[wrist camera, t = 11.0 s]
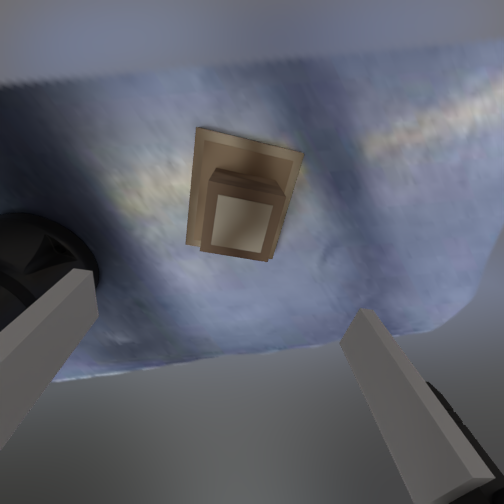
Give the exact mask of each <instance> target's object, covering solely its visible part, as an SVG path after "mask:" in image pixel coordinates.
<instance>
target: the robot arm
mask: <svg viewBox="0 0 504 504" xmlns="http://www.w3.org/2000/svg"><path fill="white" fill-rule="evenodd" d="M98 280H99V270H98V265H97V263H96V260H95V258H94V256H93V254H92V253H91V251H90V250H89V248H88V247H87V246H86V245H85V244H84V243H83V242H82V241H81V240H80V239H79V238H78V237H77V236H76V235H75V234H73V233H72V232H71V231H69V230H68V229H66V228H65V227H63V226H61V225H60V224H58V223H56V222H53V221H51V220H49V219H46V218H43V217H40V216H36V215H32V214H25V213H9V214H4V215H0V450H1V449H2V448H3V446H4V445H5V444H6V442H7V441H8V439H9V438H10V437H11V435H12V434H13V433H14V431H15V430H16V429H17V427H18V426H19V424H20V423H21V422H22V420H23V419H24V417H25V416H26V415H27V414H28V412H29V411H30V409H31V408H32V407H33V405H34V404H35V403H36V401H37V400H38V398H39V397H40V396H41V394H42V393H43V391H44V390H45V389H46V388H47V386H48V385H49V383H50V382H51V381H52V379H53V378H54V377H55V375H56V374H57V372H58V371H59V370H60V368H61V367H62V366H63V364H64V363H65V362H66V360H67V359H68V357H69V356H70V355H71V353H72V352H73V351H74V349H75V348H76V347H77V345H78V344H79V342H80V341H81V340H82V338H83V337H84V336H85V334H86V333H87V331H88V330H89V329H90V327H91V326H92V325H93V323H94V322H95V321H96V319H97V318H98V316H99V315H98V307H97V300H96V293H95V288H96V286H97V284H98ZM340 346H341V348H342V350H343V352H344V354H345V356H346V358H347V361H348V363H349V365H350V367H351V369H352V371H353V373H354V376H355V378H356V380H357V382H358V384H359V386H360V388H361V391H362V393H363V395H364V397H365V399H366V401H367V403H368V406H369V408H370V410H371V412H372V414H373V416H374V419H375V421H376V423H377V425H378V427H379V429H380V431H381V433H382V436H383V438H384V440H385V442H386V444H387V446H388V449H389V451H390V453H391V455H392V457H393V459H394V461H395V464H396V466H397V468H398V470H399V472H400V474H401V477H402V478H403V481H404V483H405V485H406V487H407V489H408V491H409V494H410V496H411V498H412V500H413V502H414V504H504V475H503V474H502V473H501V472H500V470H499V469H498V468H497V466H496V465H495V464H494V462H493V461H492V460H491V459H490V457H489V456H488V455H487V453H486V452H485V451H484V449H483V448H482V447H481V445H480V444H479V443H478V441H477V440H476V439H475V438H474V436H473V435H472V433H471V432H470V431H469V429H468V428H467V427H466V426H465V425H463V423H462V420H461V419H460V418H459V416H458V415H457V414H456V412H454V411H453V408H452V407H451V406H450V404H449V403H448V402H447V400H446V399H445V398H444V397H443V395H442V394H441V393H440V392H439V391H437V389H435V388H434V387H433V386H432V385H431V384H430V383H429V382H425V381H424V379H423V378H422V377H421V375H420V374H419V373H418V371H417V370H416V369H415V367H414V366H413V365H412V363H411V362H410V360H409V359H408V358H407V356H406V355H405V353H404V352H403V351H402V349H401V348H400V347H399V345H398V344H397V342H396V341H395V340H394V338H393V337H392V336H391V334H390V333H389V332H388V330H387V329H386V327H385V326H384V325H383V323H382V322H381V321H380V319H379V318H378V316H377V315H376V314H375V312H374V311H373V310H369V309H362V308H360V309H359V311H358V312H357V314H356V316H355V317H354V319H353V321H352V323H351V324H350V326H349V328H348V329H347V331H346V333H345V334H344V336H343V338H342V339H341V341H340Z"/></svg>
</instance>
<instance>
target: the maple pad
mask: <svg viewBox="0 0 504 504" xmlns="http://www.w3.org/2000/svg"><path fill="white" fill-rule="evenodd" d="M303 157H304V153H301V152H298V151H294V150H290V149H286V148H282V147H278V146H274V145H270V144H266V143H261V142H257V141H253V140H249V139H245V138H241V137H237V136H233V135H229V134H225V133H221V132H217V131H212V130H208V129H204V128H200V127H196V135H195V146H194V157H193V168H192V179H191V190H190V201H189V212H188V223H187V234H186V245H192V246H198V247H200V246H201V237H202V229H203V221H204V213H205V204H206V196H207V188H208V180H209V179H210V177H211V175H212V174H213V172H214V170H215V169H216V168H220V169H225V170H229V171H234V172H239V173H243V174H248V175H252V176H257V177H262V178H266V179H271V180H275V181H276V182H277V183H278V185H279V186H280V188H281V189H282V191H283V192H284V194H285V196H286V200H285V203H284V207H283V210H282V214H281V217H280V221H279V224H278V228H277V231H276V234H275V238H274V241H273V245H272V248H271V252H270V255H269V259H272V258H273V255H274V252H275V249H276V245H277V242H278V239H279V235H280V232H281V229H282V226H283V222H284V219H285V216H286V213H287V209H288V206H289V203H290V199H291V196H292V193H293V190H294V186H295V183H296V180H297V177H298V173H299V170H300V167H301V163H302V160H303Z"/></svg>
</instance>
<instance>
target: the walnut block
mask: <svg viewBox="0 0 504 504" xmlns="http://www.w3.org/2000/svg"><path fill="white" fill-rule="evenodd" d="M285 200H286V196H285V194H284V192H283V191H282V189H281V188H280V186H279V185H278V183H277V182H276V181H275V180H271V179H266V178H262V177H257V176H252V175H248V174H243V173H239V172H234V171H229V170H225V169H220V168H216V169H215V170H214V172H213V174H212V175H211V177H210V179H209V180H208V188H207V196H206V204H205V213H204V221H203V229H202V237H201V246H200V251H203V252H209V253H215V254H221V255H227V256H233V257H239V258H245V259H252V260H258V261H264V262H268V259H269V255H270V252H271V248H272V245H273V241H274V238H275V234H276V231H277V228H278V224H279V221H280V217H281V214H282V210H283V207H284V203H285Z"/></svg>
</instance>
